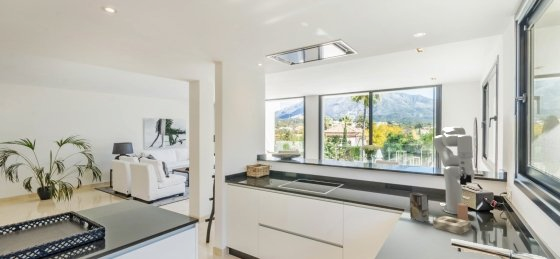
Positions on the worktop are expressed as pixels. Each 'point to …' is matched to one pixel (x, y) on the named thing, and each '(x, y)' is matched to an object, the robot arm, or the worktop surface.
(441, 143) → the robot arm
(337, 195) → the worktop surface
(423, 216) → the coffee box
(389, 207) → the worktop surface
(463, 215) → the peg
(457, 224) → the socket
